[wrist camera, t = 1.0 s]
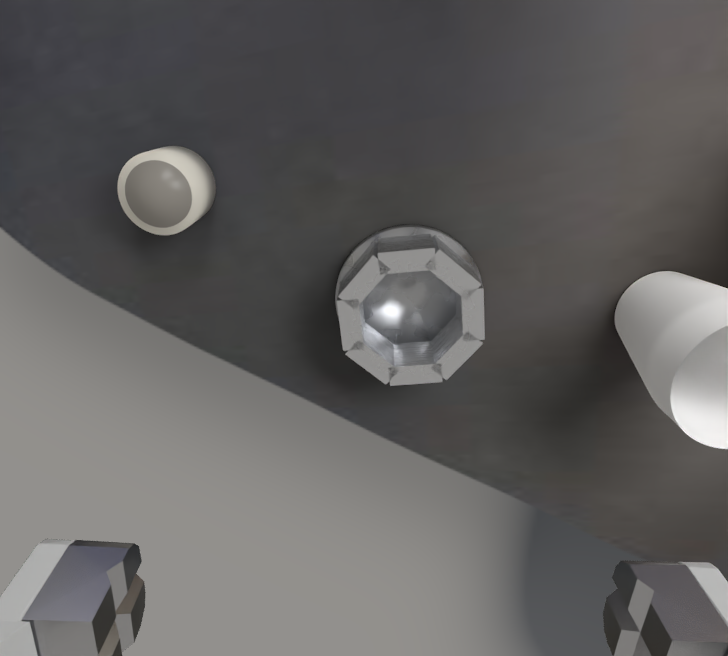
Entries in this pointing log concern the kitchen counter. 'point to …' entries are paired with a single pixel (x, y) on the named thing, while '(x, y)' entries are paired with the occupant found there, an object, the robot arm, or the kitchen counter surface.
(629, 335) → the cup
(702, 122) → the kitchen counter surface
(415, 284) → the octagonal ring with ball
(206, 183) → the cap
